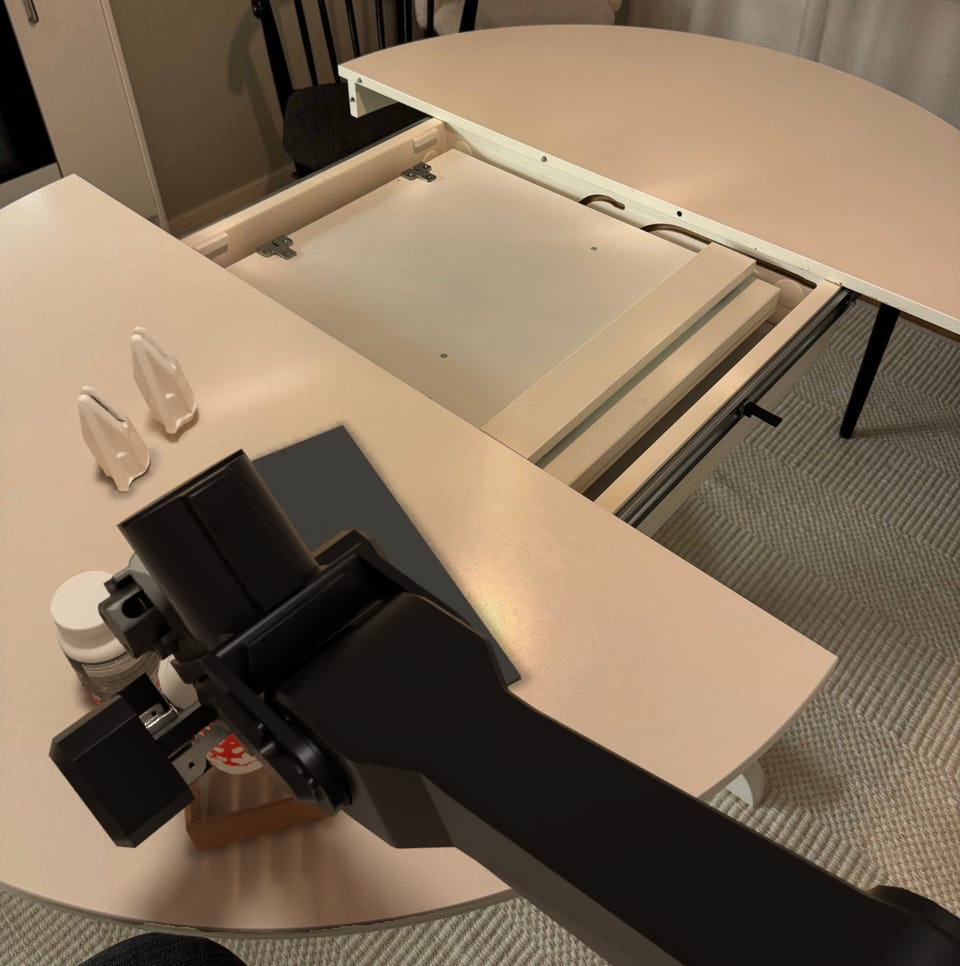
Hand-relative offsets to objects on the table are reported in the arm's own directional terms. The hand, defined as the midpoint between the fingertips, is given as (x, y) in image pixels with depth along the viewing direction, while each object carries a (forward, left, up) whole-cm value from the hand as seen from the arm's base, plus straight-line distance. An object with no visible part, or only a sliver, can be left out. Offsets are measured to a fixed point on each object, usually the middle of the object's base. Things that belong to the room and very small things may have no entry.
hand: (207, 666), depth 56 cm
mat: (+14, -12, -12) cm, 22 cm away
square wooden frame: (-1, -1, -12) cm, 12 cm away
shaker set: (+33, +4, -12) cm, 35 cm away
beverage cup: (-1, -1, -7) cm, 7 cm away
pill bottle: (+9, +7, -12) cm, 17 cm away
